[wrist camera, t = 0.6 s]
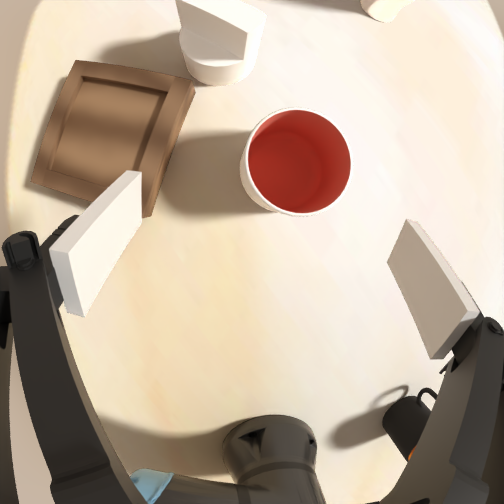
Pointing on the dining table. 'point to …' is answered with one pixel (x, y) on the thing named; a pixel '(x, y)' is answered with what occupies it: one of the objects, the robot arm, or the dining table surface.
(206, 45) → the cylinder with rectangular tab
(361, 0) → the beer glass
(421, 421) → the mug
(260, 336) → the dining table surface
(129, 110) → the walnut base
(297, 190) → the cup
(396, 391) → the dining table surface
